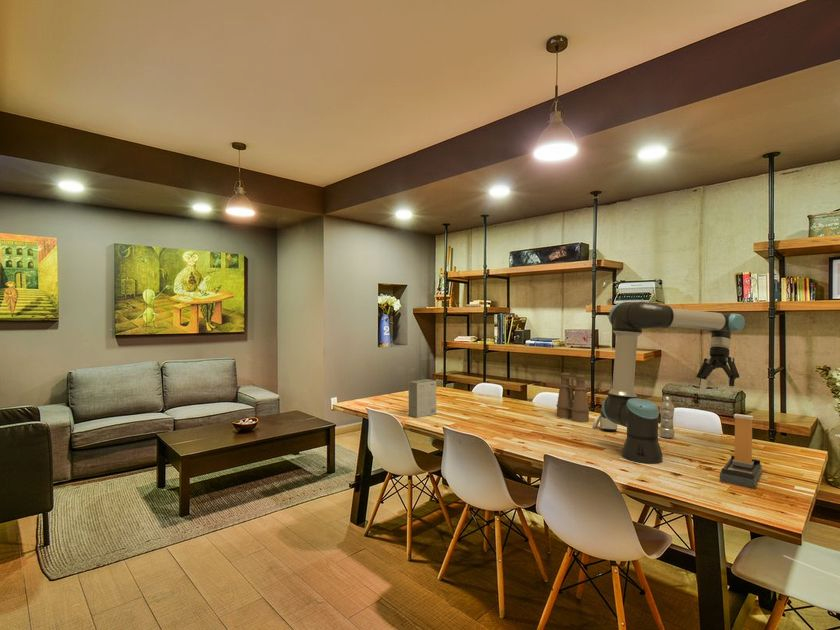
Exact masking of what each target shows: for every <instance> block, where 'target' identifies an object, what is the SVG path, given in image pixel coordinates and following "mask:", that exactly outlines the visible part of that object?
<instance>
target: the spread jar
mask: <svg viewBox="0 0 840 630" xmlns="http://www.w3.org/2000/svg"><path fill="white" fill-rule="evenodd" d="M599 424H600V427H599V428H600V430H601V431H603V432H606V433H607V432H609V433H614V432H617V431H618V424H615V423H613V422H611V421H610V420H608V419H607V418H606V417H605V416H604V414H603V412H602V410H601V412H600V414H598V415H596V416H595V419H594V421H593V424H592V428H594V429H596V428H597V426H599Z"/></svg>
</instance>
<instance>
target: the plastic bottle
mask: <svg viewBox="0 0 840 630" xmlns="http://www.w3.org/2000/svg"><path fill="white" fill-rule="evenodd" d="M675 410H676V409H675V405H674V403H673V402H672V396H671V395H663V396H662V402H661V403H660V404H659V414H660V424H659V425H660V427H659V429H658V434H659V436H660V437H662V438H665V439H671V438H673V437H674V436H675V428H674V414H675Z"/></svg>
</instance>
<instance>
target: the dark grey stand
mask: <svg viewBox="0 0 840 630" xmlns="http://www.w3.org/2000/svg"><path fill="white" fill-rule="evenodd" d="M734 458H735V455H731V456H730V458H729V460H728V461H727V462H726V464H725V465H724V466H723V467H721V471H720V472H719V482H722V483H725V482H726V484H730V485H737V486H740V487H745V488H750V489H754V490H755V489H756V487H757V484H758V483H759V480H760V478H761V475H762V474H763V465H762V463H761V460H760V459H755V458H752V461H754V466H753V468H752V469H751V468H745V467H740V466H735V465H732V461H733V459H734Z"/></svg>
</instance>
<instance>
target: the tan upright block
mask: <svg viewBox="0 0 840 630" xmlns="http://www.w3.org/2000/svg"><path fill="white" fill-rule="evenodd" d="M733 418H734V456H735V458H734V459H733V461H732V465H735V466H740V467H745V468H751V469H752V468H753V466H754V461H752V459H753V420H754V415H748V414H741V413H740V414H739V413H735V414H733Z"/></svg>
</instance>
